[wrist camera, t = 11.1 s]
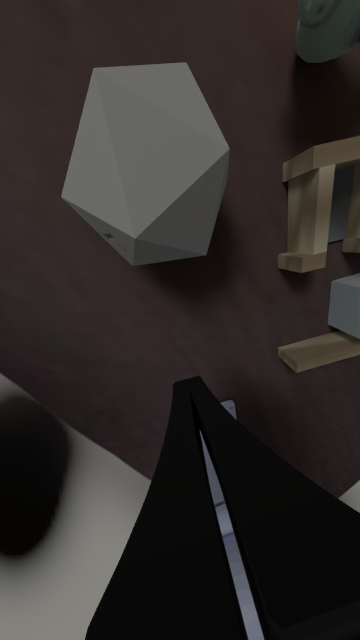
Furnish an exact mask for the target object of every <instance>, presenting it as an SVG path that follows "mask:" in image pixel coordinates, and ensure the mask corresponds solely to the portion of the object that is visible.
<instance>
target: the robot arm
mask: <svg viewBox="0 0 360 640" xmlns="http://www.w3.org/2000/svg"><path fill="white" fill-rule="evenodd" d="M85 640H360V513H359V512H357V511H356V510H354V509H352V508H351V507H349V506H348V505H346V504H345V503H343V502H342V501H340V500H339V499H337V498H336V497H334V496H333V495H331V494H330V493H328V492H327V491H326V490H324V489H323V488H321V487H320V486H318V485H317V484H316V483H314V482H313V481H311V480H310V479H308V478H307V477H306V476H304V475H303V474H302V473H300V472H299V471H298V470H296V469H295V468H294V467H292V466H291V465H290V464H288V463H287V462H286V461H284V460H283V459H282V458H280V457H279V456H278V455H276V454H275V453H274V452H273V451H271V450H270V449H269V448H268V447H266V446H265V445H264V444H263V443H262V442H260V441H259V440H258V439H257V438H256V437H255V436H253V435H252V434H251V433H250V432H249V431H248V430H247V429H246V428H245V427H244V426H242V425H241V424H240V423H239V422H238V421H237V417H236V410H235V403H234V401H233V400H228V401H224V402H221V403H220V402H219V401H218V400H217V399H216V397H215V396H214V395H213V394H212V392H211V391H210V390H209V389H208V387H207V386H206V385H205V383H204V382H203V380H202V378H201V377H200V376H196V377H192V378H189V379H185V380H182V381H178V382H175V383H174V384H173V397H172V405H171V411H170V417H169V422H168V427H167V431H166V435H165V439H164V443H163V447H162V450H161V454H160V457H159V460H158V464H157V467H156V470H155V473H154V476H153V479H152V481H151V484H150V487H149V490H148V493H147V496H146V498H145V501H144V503H143V506H142V508H141V511H140V513H139V516H138V518H137V521H136V523H135V526H134V528H133V530H132V532H131V535H130V537H129V540H128V542H127V544H126V547H125V549H124V551H123V554H122V556H121V558H120V560H119V563H118V565H117V567H116V569H115V571H114V574H113V575H112V578H111V580H110V582H109V584H108V586H107V588H106V590H105V592H104V594H103V597H102V599H101V601H100V603H99V605H98V607H97V609H96V611H95V614H94V616H93V618H92V620H91V622H90V625H89V627H88V630H87V633H86V637H85Z"/></svg>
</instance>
